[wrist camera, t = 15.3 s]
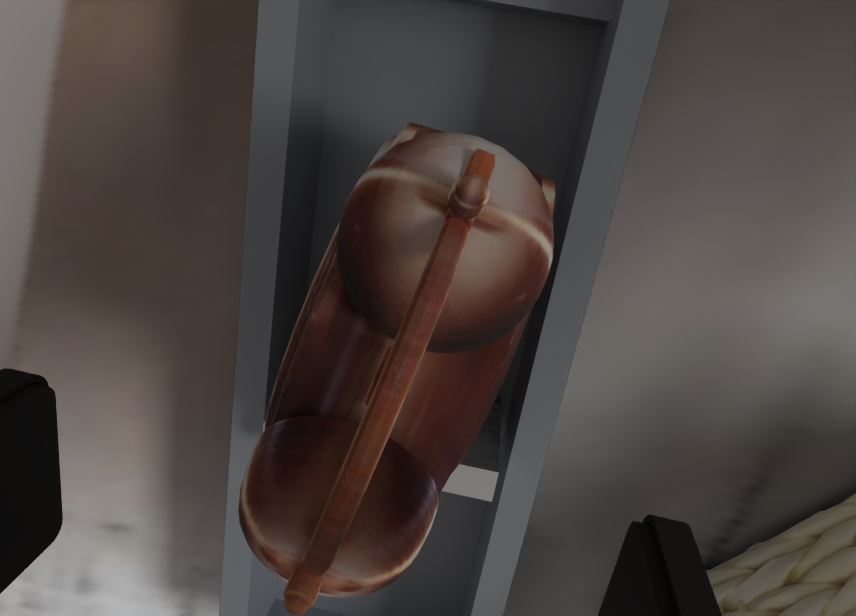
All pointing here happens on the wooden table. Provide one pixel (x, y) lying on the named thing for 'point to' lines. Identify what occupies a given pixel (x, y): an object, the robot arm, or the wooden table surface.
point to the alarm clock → (395, 361)
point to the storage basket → (795, 570)
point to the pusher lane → (339, 173)
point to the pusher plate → (478, 461)
